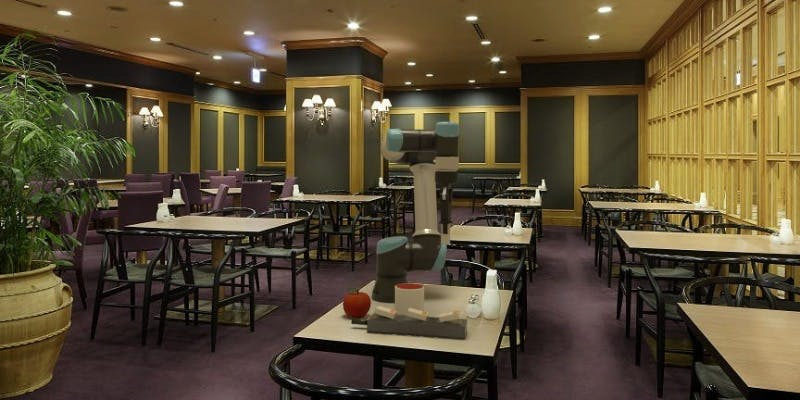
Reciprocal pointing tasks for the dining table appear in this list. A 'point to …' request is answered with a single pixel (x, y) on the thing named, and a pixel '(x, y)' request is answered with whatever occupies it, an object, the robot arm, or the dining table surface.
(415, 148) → the robot arm
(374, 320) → the power strip
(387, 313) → the block
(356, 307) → the fruit
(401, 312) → the cup
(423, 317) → the rocker
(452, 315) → the rocker
